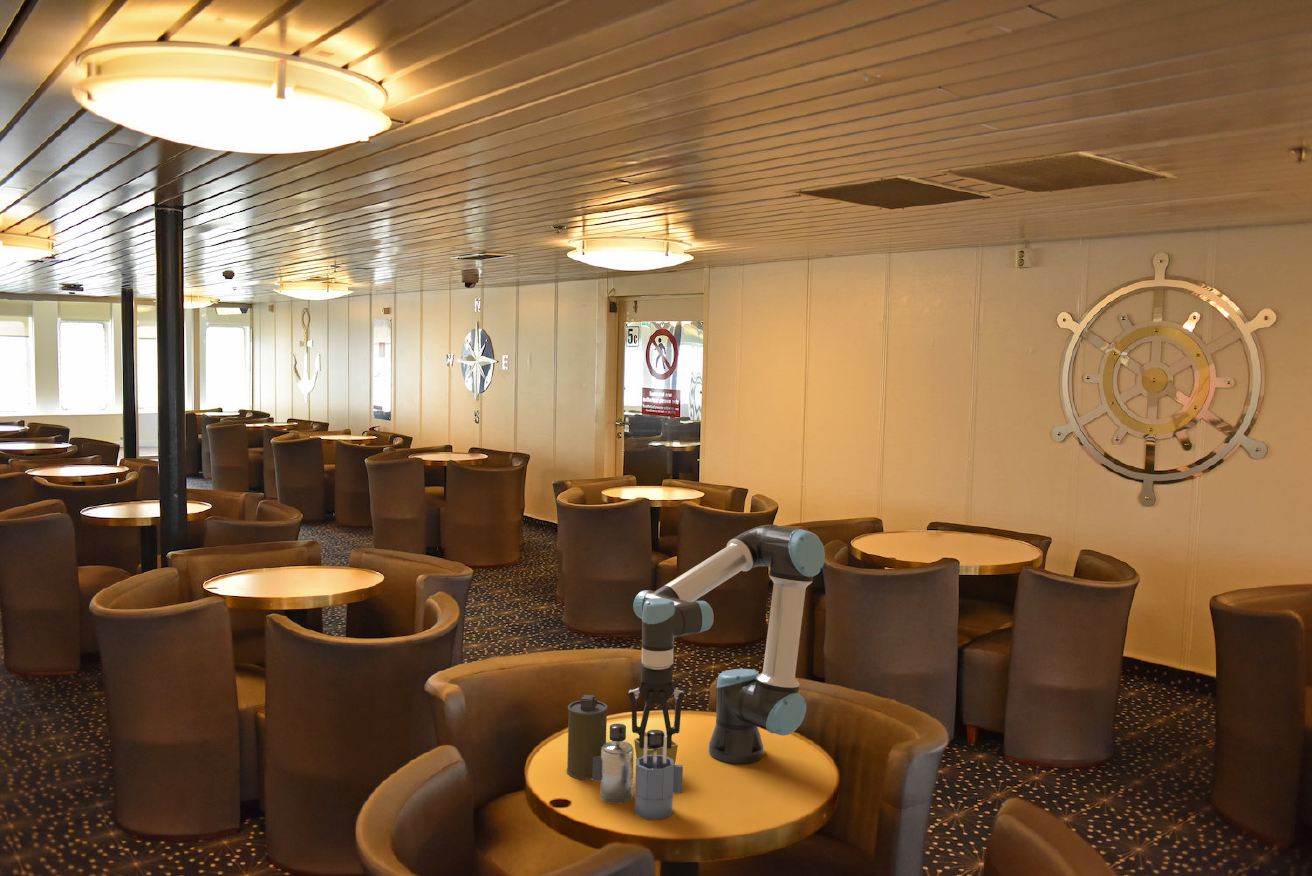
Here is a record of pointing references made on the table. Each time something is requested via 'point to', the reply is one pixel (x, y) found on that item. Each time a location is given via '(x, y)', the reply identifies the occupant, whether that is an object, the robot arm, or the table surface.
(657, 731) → the plunger
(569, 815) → the table surface
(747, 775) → the table surface
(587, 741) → the canister
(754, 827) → the table surface
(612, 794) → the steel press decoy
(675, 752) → the flower pot
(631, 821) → the table surface
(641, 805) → the blue mug
